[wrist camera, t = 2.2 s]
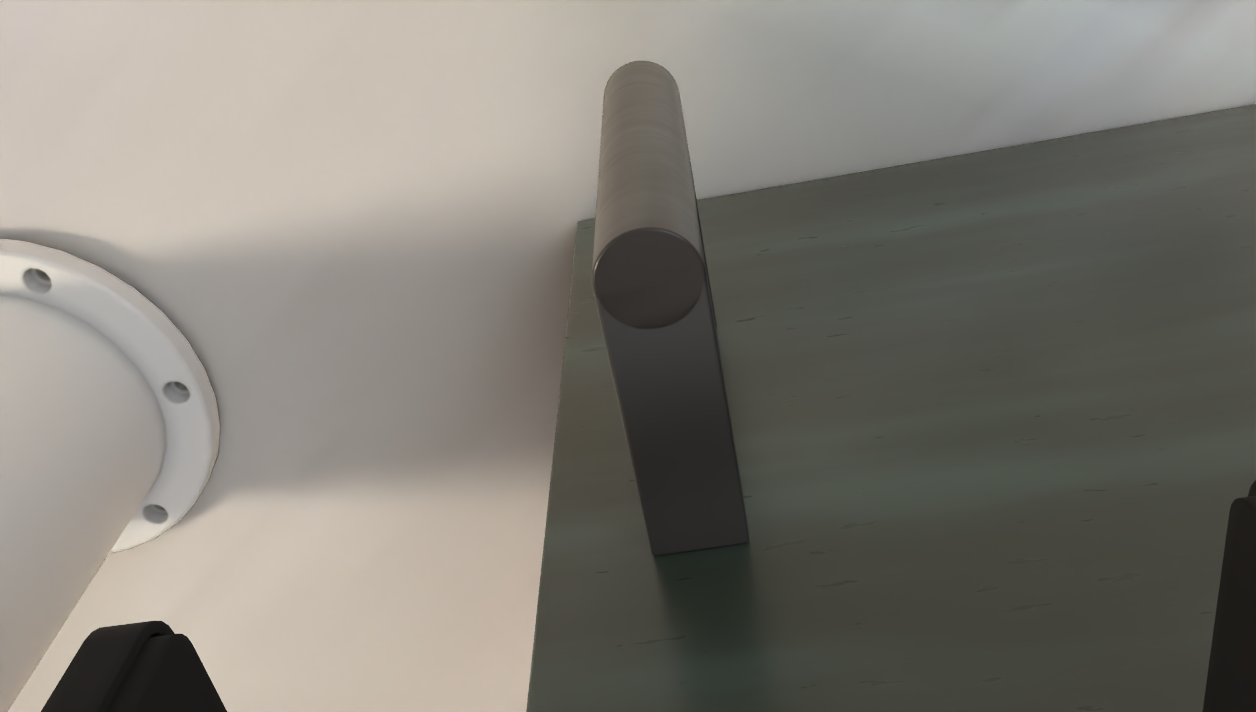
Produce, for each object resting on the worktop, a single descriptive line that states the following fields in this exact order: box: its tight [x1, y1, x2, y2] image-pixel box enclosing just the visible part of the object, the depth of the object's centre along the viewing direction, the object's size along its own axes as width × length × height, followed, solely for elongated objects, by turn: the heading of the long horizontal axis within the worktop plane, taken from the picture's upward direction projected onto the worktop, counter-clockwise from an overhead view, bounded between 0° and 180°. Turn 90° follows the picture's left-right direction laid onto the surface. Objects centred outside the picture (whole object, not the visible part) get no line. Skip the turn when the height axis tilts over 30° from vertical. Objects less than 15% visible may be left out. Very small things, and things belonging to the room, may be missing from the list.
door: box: [526, 61, 1256, 712], centre depth 21 cm, size 7×26×24 cm, turn 100°
